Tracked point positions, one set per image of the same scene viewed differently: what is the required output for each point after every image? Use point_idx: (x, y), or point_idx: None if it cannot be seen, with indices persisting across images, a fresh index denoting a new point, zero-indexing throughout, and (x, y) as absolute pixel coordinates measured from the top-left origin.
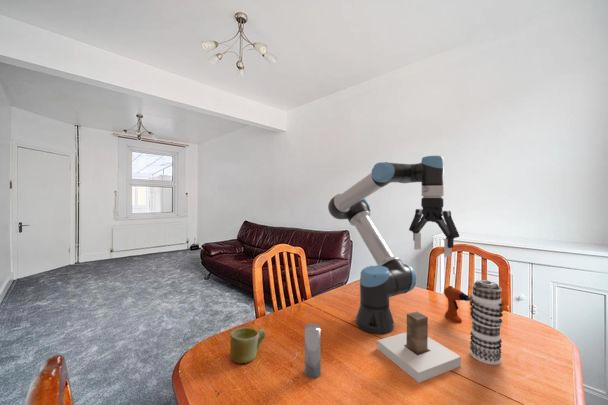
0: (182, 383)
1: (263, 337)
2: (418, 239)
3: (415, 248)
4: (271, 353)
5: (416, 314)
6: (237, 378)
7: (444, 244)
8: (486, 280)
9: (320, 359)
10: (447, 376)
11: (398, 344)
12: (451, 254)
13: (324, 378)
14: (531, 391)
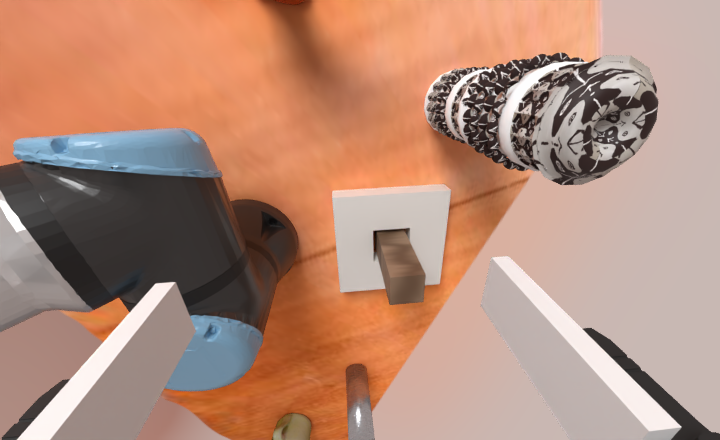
0: None
1: (283, 427)
2: (116, 410)
3: (186, 340)
4: (297, 400)
5: (402, 288)
6: (332, 425)
7: (546, 404)
8: (607, 100)
9: (364, 384)
10: (447, 226)
11: (367, 267)
12: (517, 266)
13: (370, 362)
14: None
